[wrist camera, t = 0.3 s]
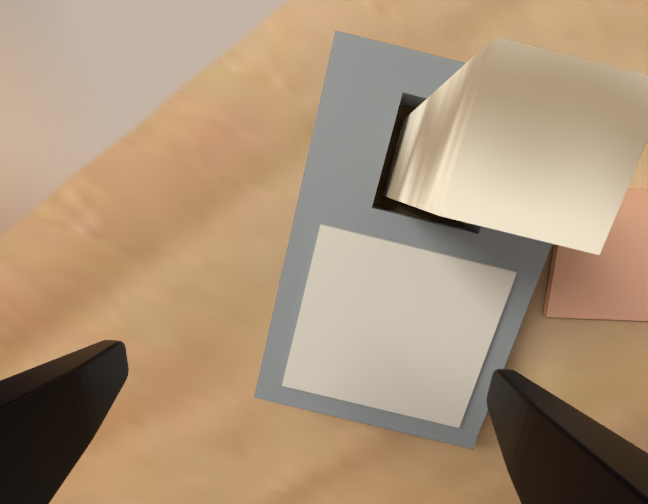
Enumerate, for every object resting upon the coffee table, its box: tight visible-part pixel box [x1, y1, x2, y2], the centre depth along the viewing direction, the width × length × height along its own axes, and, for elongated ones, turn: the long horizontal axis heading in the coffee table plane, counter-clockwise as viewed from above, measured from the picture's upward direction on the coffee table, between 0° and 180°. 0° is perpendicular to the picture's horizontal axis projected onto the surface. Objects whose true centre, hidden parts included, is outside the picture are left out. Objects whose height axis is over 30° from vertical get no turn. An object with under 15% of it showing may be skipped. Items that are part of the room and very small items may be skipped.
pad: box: [543, 190, 648, 321], centre depth 21 cm, size 8×8×1 cm
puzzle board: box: [254, 31, 552, 449], centre depth 20 cm, size 21×14×3 cm, turn 166°
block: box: [383, 37, 648, 255], centre depth 15 cm, size 4×4×12 cm
